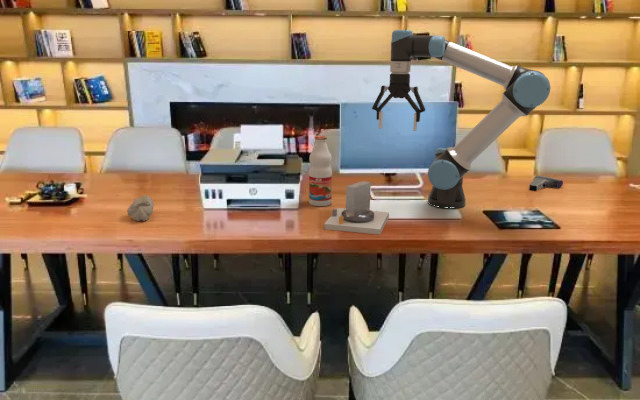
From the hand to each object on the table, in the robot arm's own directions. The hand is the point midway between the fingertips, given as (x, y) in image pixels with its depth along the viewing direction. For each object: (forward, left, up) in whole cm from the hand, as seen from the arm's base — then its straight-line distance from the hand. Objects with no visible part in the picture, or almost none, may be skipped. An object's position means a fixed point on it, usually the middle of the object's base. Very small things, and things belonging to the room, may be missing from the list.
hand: (397, 129), depth 208 cm
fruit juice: (+30, +3, -32) cm, 44 cm away
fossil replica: (+89, +41, -32) cm, 103 cm away
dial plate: (+10, +23, -32) cm, 40 cm away
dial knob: (+10, +23, -29) cm, 39 cm away
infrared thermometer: (-62, -50, -32) cm, 86 cm away
